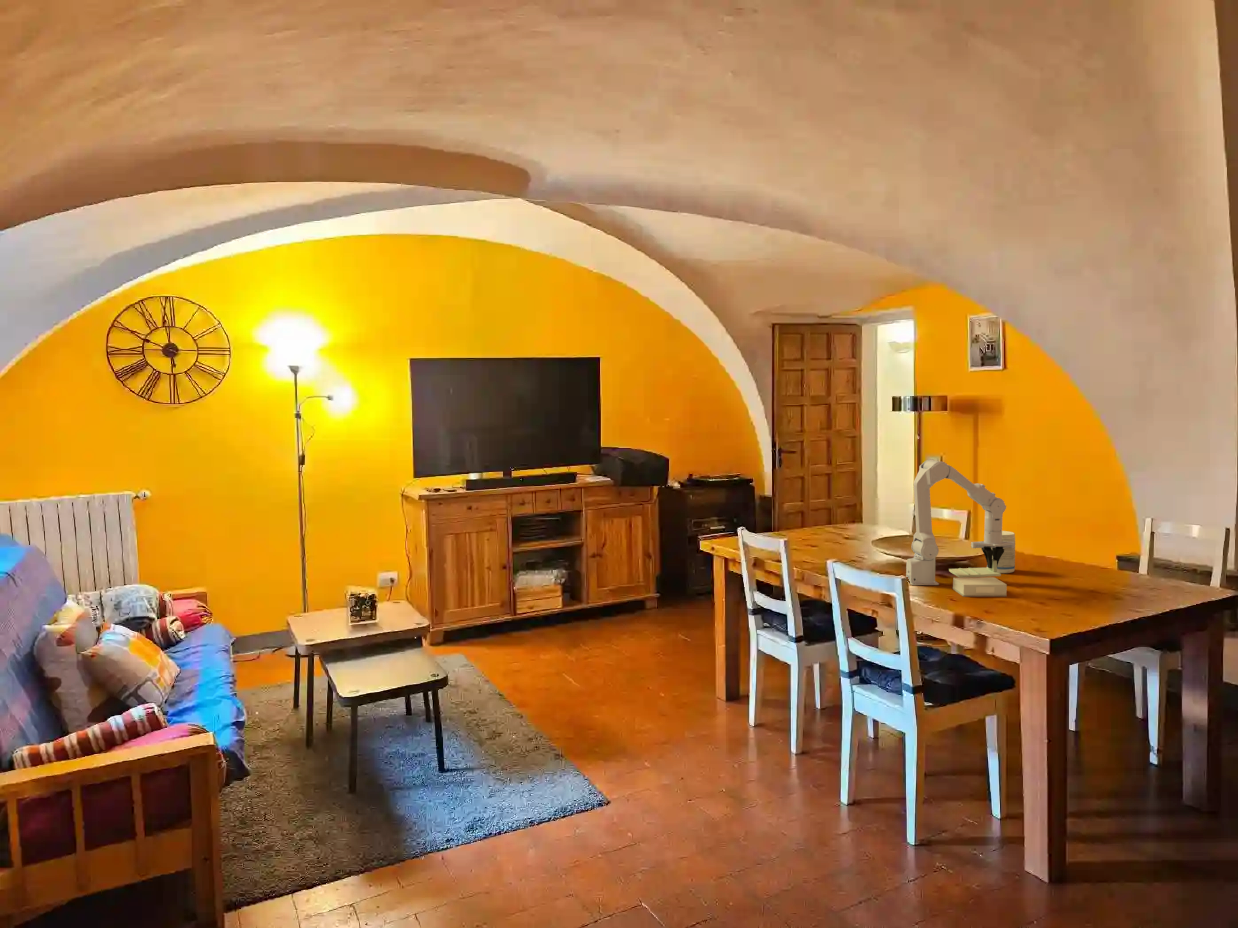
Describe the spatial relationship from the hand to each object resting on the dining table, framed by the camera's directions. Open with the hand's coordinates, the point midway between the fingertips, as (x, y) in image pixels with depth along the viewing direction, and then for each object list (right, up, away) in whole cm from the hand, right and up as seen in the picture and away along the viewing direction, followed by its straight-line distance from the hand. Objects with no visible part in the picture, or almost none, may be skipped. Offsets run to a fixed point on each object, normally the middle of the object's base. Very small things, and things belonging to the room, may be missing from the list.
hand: (992, 567), depth 295 cm
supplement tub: (+10, -4, +16) cm, 19 cm away
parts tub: (-11, -7, -15) cm, 20 cm away
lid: (-6, -2, 0) cm, 7 cm away
